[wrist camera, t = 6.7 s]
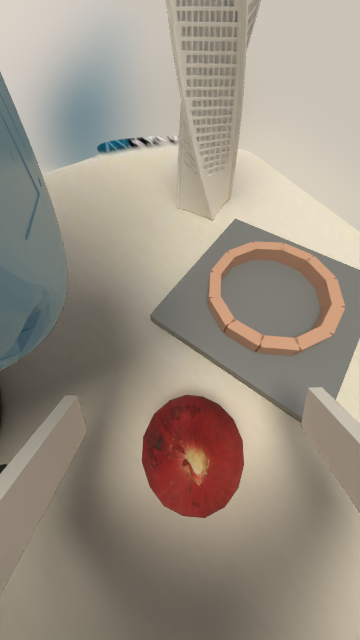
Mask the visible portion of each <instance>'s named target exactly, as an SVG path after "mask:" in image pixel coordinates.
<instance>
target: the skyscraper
mask: <svg viewBox="0 0 360 640" xmlns="http://www.w3.org/2000/svg"><path fill="white" fill-rule="evenodd" d="M260 2H261V0H166V5H167V13H168V21H169V28H170V35H171V42H172V50H173V56H174V62H175V68H176V75H177V80H178V86H179V91H180V97H181V112H180V130H179V152H178V183H177V208H181V209H184V210H187V211H190V212H193V213H196V214H198V215H201V216H204V217H207V218H210V219H211V220H214V217H215V215H216V214H217V213H218V212H219V210H220V209H221V208H222V206H223V205H224V204H225V202H226V201H227V200H228V199H230V196H231V190H232V184H233V177H234V171H235V165H236V158H237V150H238V143H239V134H240V125H241V116H242V105H243V94H244V80H245V65H246V51H247V48H248V44H249V41H250V38H251V34H252V30H253V27H254V24H255V20H256V17H257V13H258V10H259V6H260Z"/></svg>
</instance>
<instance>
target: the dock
mask: <svg viewBox="0 0 360 640" xmlns="http://www.w3.org/2000/svg"><path fill="white" fill-rule="evenodd" d="M150 317H151V320H152V321H153V322H154V323H156V324H157V325H159V326H160V327H162V328H163V329H164V330H166V331H167V332H169V333H170V334H172V335H173V336H175V337H176V338H178V339H179V340H181V341H182V342H184V343H185V344H187V345H188V346H189V347H191V348H192V349H194V350H195V351H197V352H198V353H200V354H201V355H203V356H204V357H206V358H207V359H209V360H210V361H211V362H213V363H214V364H216V365H217V366H219V367H220V368H222V369H223V370H225V371H226V372H228V373H229V374H231V375H232V376H234V377H235V378H236V379H238V380H239V381H241V382H242V383H244V384H245V385H247V386H248V387H250V388H251V389H253V390H254V391H256V392H257V393H258V394H260V395H261V396H263V397H264V398H266V399H267V400H269V401H270V402H272V403H273V404H275V405H276V406H278V407H279V408H281V409H282V410H283V411H285V412H286V413H288V414H289V415H291V416H292V417H294V418H295V419H297V420H298V421H300V422H302V417H303V412H304V407H305V401H306V396H307V391H308V388H314V387H322V388H323V389H324V390H325V391H326V392H327V393H328V394H330V395H331V396H332V397H333V398H334V399H335V400H336V398H337V395H338V392H339V390H340V387H341V385H342V382H343V379H344V377H345V374H346V372H347V369H348V367H349V364H350V361H351V359H352V356H353V354H354V351H355V348H356V346H357V343H358V341H359V338H360V270H358V269H356V268H353V267H351V266H348V265H346V264H344V263H341V262H339V261H336V260H334V259H332V258H329V257H327V256H324V255H322V254H319V253H317V252H315V251H312V250H310V249H307V248H305V247H303V246H300V245H298V244H295V243H293V242H290V241H288V240H286V239H283V238H281V237H278V236H276V235H274V234H271V233H269V232H266V231H264V230H261V229H259V228H257V227H254V226H252V225H249V224H247V223H245V222H242V221H240V220H237V219H235V220H234V221H233V222H232V223H231V224H230V225H229V226H228V228H227V229H226V230H225V231H224V232H223V233H222V234H221V235H220V237H219V238H218V239H217V240H216V241H215V242H214V243H213V244H212V246H211V247H210V248H209V249H208V250H207V251H206V252H205V254H204V255H203V256H202V257H201V258H200V259H199V260H198V261H197V263H196V264H195V265H194V266H193V267H192V268H191V269H190V271H189V272H188V273H187V274H186V275H185V276H184V277H183V278H182V280H181V281H180V282H179V283H178V284H177V285H176V286H175V287H174V289H173V290H172V291H171V292H170V293H169V294H168V295H167V297H166V298H165V299H164V300H163V301H162V302H161V303H160V304H159V306H158V307H157V308H156V309H155V310H154V311H153V312H152V314H151V315H150Z"/></svg>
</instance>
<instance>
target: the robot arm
mask: <svg viewBox="0 0 360 640" xmlns="http://www.w3.org/2000/svg"><path fill="white" fill-rule="evenodd" d="M66 294H67V263H66V255H65V250H64V245H63V241H62V236H61V232H60V229H59V225H58V222H57V218H56V215H55V212H54V208H53V205H52V202H51V199H50V196H49V193H48V190H47V187H46V185H45V182H44V179H43V176H42V174H41V171H40V168H39V165H38V163H37V160H36V158H35V155H34V152H33V150H32V147H31V145H30V142H29V140H28V137H27V135H26V132H25V130H24V128H23V125H22V123H21V120H20V118H19V115H18V113H17V110H16V108H15V105H14V103H13V101H12V98H11V96H10V94H9V92H8V89H7V87H6V84H5V82H4V80H3V77H2V75H1V73H0V371H1V370H3V369H5V368H7V367H8V366H10V365H12V364H14V363H15V362H17V361H19V360H20V359H21V358H23V357H24V356H25V355H27V354H28V353H29V352H31V351H32V350H33V349H35V348H36V347H37V346H38V345H39V344H40V343H41V342H42V341H43V340H44V339H45V338H46V337H47V336H48V335H49V333H50V332H51V331H52V329H53V328H54V326H55V324H56V322H57V320H58V319H59V317H60V315H61V312H62V310H63V307H64V304H65V300H66ZM0 421H1V396H0ZM301 427H302V428H303V430H304V431H305V433H306V434H307V435H308V437H309V438H310V440H311V441H312V443H313V444H314V446H315V447H316V449H317V450H318V452H319V453H320V455H321V456H322V458H323V459H324V461H325V462H326V463H327V465H328V466H329V468H330V469H331V471H332V472H333V474H334V475H335V477H336V478H337V480H338V481H339V483H340V484H341V486H342V487H343V489H344V490H345V492H346V493H347V494H348V496H349V497H350V499H351V500H352V502H353V503H354V505H355V506H356V508H357V509H358V511H359V512H360V424H359V423H358V422H357V421H356V420H355V419H354V418H353V417H352V416H351V415H350V414H349V413H348V412H347V411H346V410H345V409H344V408H343V407H342V406H341V405H340V404H339V403H338V402H337V401H336V400H335V399H334V398H333V397H332V396H331V395H330V394H328V393H327V392H326V391H325V390H324V389H323V388H322V387H314V388H308V391H307V396H306V401H305V407H304V412H303V417H302V422H301ZM86 433H87V428H86V424H85V421H84V417H83V413H82V409H81V406H80V402H79V398H78V395H68V396H64V397H63V398H62V400H61V401H60V402H59V403H58V404H57V406H56V407H55V408H54V409H53V411H52V412H51V413H50V414H49V415H48V417H47V418H46V419H45V420H44V421H43V423H42V424H41V425H40V426H39V428H38V429H37V430H36V431H35V432H34V434H33V435H32V436H31V437H30V438H29V440H28V441H27V442H26V443H25V444H24V446H23V447H22V448H21V449H20V451H19V452H18V453H17V454H16V455H15V457H14V458H13V459H12V460H11V461H10V463H9V464H1V465H0V594H1V592H2V590H3V589H4V587H5V585H6V583H7V581H8V579H9V577H10V575H11V574H12V572H13V570H14V568H15V566H16V564H17V562H18V560H19V559H20V557H21V555H22V553H23V551H24V549H25V547H26V545H27V544H28V542H29V540H30V538H31V536H32V534H33V532H34V530H35V529H36V527H37V525H38V523H39V521H40V519H41V517H42V515H43V514H44V512H45V510H46V508H47V506H48V504H49V502H50V500H51V499H52V497H53V495H54V493H55V491H56V489H57V487H58V485H59V484H60V482H61V480H62V478H63V476H64V474H65V472H66V471H67V469H68V467H69V465H70V463H71V461H72V459H73V457H74V456H75V454H76V452H77V450H78V448H79V446H80V444H81V442H82V441H83V439H84V437H85V435H86Z"/></svg>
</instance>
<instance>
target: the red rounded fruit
mask: <svg viewBox="0 0 360 640" xmlns="http://www.w3.org/2000/svg"><path fill="white" fill-rule="evenodd" d="M142 463H143V467H144V470H145V473H146V476H147V479H148V482H149V485H150V488H151V489H152V490H153V492H154V493H155V495H156V496H157V497H158V499H159V500H160V501H161V503H162V504H163V505H164V506H165V507H167V508H169V509H171V510H173V511H175V512H176V513H178V514H180V515H182V516H189V517H200V518H206V517H207V516H209V515H211V514H213V513H215V512H217V511H218V510H220V509H222V508H224V507H225V506H226V505H227V503H228V502H229V500H230V499H231V498H232V496H233V495H234V493H235V492H236V490H237V489H238V487H239V483H240V479H241V475H242V471H243V466H244V458H243V442H242V438H241V436H240V434H239V431H238V429H237V427H236V424H235V422H234V420H233V418H232V417H231V416H230V415H229V414H228V413H227V412H226V411H225V410H224V409H223V408H222V407H221V406H220V405H219V404H217V403H215V402H213V401H210V400H208V399H206V398H204V397H200V396H191V395H185V396H182V397H179V398H176V399H173V400H170V401H169V402H168V403H166V404H165V405H164V406H163V407H162V408H161V409H159V410H158V411H157V412H156V413H155V414H154V416H153V418H152V420H151V422H150V424H149V426H148V428H147V430H146V432H145V434H144V436H143V452H142Z"/></svg>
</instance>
